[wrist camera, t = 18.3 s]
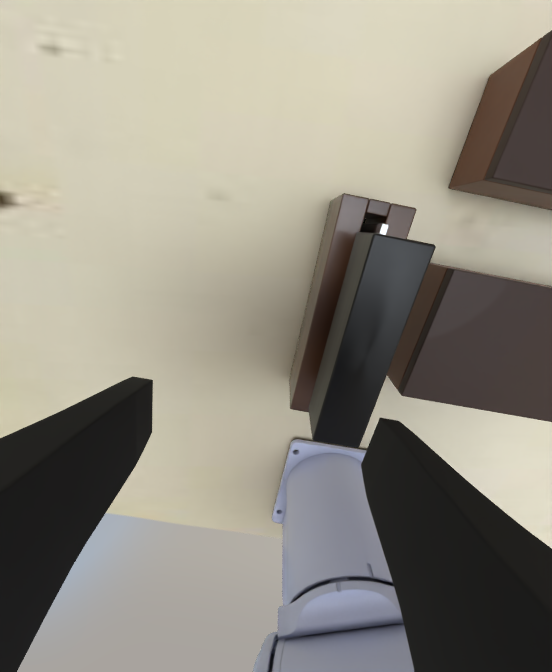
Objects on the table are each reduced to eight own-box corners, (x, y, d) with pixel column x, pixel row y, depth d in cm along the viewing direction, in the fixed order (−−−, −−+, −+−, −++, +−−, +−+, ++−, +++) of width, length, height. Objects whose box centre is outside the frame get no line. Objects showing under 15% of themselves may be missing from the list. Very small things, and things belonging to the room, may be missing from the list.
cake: (527, 394, 20) (575, 426, 17) (381, 367, 19) (401, 396, 16) (590, 294, 17) (661, 309, 14) (421, 260, 17) (454, 268, 13)
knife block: (335, 388, 20) (345, 418, 17) (289, 379, 20) (290, 409, 17) (390, 212, 16) (417, 208, 13) (330, 200, 16) (343, 192, 12)
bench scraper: (330, 374, 20) (356, 456, 13) (300, 369, 20) (309, 449, 13) (373, 228, 16) (443, 229, 9) (336, 221, 16) (378, 216, 9)
